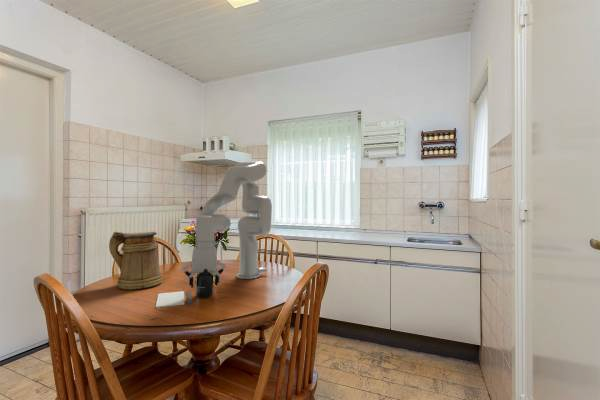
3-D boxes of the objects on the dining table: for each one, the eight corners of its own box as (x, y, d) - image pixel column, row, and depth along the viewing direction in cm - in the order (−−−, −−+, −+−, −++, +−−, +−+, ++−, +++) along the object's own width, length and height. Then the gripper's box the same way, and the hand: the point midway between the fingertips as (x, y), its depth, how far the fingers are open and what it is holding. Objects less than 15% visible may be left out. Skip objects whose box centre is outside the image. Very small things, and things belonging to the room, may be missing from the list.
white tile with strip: (190, 291, 129) (190, 290, 129) (192, 303, 114) (192, 302, 114) (158, 294, 124) (158, 293, 124) (155, 307, 109) (155, 306, 109)
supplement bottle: (197, 299, 119) (197, 269, 119) (194, 294, 125) (195, 266, 125) (214, 297, 122) (214, 268, 122) (211, 292, 128) (211, 264, 128)
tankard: (155, 289, 131) (156, 233, 131) (97, 291, 128) (98, 234, 128) (167, 278, 149) (167, 229, 149) (117, 280, 146) (117, 229, 146)
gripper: (224, 242, 130) (224, 281, 130) (182, 244, 124) (181, 285, 124) (227, 245, 123) (226, 286, 123) (182, 247, 117) (182, 290, 117)
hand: (204, 285), depth 123 cm, fingers open, 9 cm apart
